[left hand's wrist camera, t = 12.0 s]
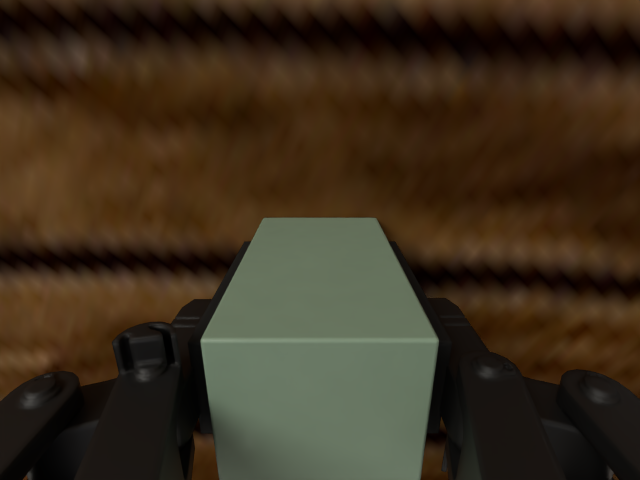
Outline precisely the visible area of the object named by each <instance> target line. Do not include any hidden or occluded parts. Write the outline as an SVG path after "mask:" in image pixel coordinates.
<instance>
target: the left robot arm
mask: <svg viewBox="0 0 640 480" xmlns="http://www.w3.org/2000/svg"><path fill="white" fill-rule="evenodd" d="M250 243H251V242H244V244H243V245H242V247H241V249H240V251H239V252H238V254H237V256H236V258H235V259H234V261H233V263H232V265H231V267H230V268H229V270H228V272H227V274H226V275H225V277H224V279H223V281H222V282H221V284H220V286H219V288H218V290H217V291H216V293H215V295H214V297H213V298H212V299H194V300H193V301H191V302H190V303H188V304H187V305H185V306H184V307H182V309H181V310H180V311H179V313H178V314H177V316H176V317H175V319H174V320H173V322H172V323H171V324H169V323H165V322H148V323H143V324H139V325H136V326H134V327H131V328H129V329H127V330H125V331H124V332H122V333H121V334H119V335H118V336H117V337H116V338H115V339H114V340H113V342H112V345H113V349H114V353H115V358H116V362H117V366H118V370H119V375H118V377H117V378H115V379H112V380H108V381H104V382H99V383H95V384H90V385H85V386H81V385H80V382H79V378H78V377H77V376H76V375H75V374H74V373H72V372H66V371H59V372H50V373H47V374H44V375H40V376H37V377H35V378H33V379H31V380H29V381H27V382H25V383H23V384H21V385H20V386H19V387H17V388H16V389H14V390H13V391H12V392H10V393H9V394H8V395H7V396H6V397H5V398H4V399H3V400H2V401H0V480H23V478H24V477H25V476H26V475H27V477H28V479H27V480H191V479H192V470H193V460H194V451H195V446H194V439H193V431H194V428H195V425H196V423H197V420H198V418H199V422H200V428H201V433H213V429H212V422H211V415H210V407H209V400H208V393H207V385H206V378H205V370H204V363H203V356H202V348H201V338H202V336H203V334H204V332H205V330H206V328H207V326H208V325H209V323H210V321H211V319H212V317H213V315H214V313H215V311H216V309H217V307H218V305H219V303H220V301H221V299H222V297H223V295H224V294H225V292H226V290H227V288H228V286H229V284H230V282H231V280H232V278H233V276H234V274H235V272H236V270H237V268H238V266H239V265H240V263H241V261H242V259H243V257H244V255H245V253H246V251H247V249H248V247H249V245H250ZM389 244H390V246H391V248H392V250H393V251H394V253H395V255H396V257H397V259H398V261H399V263H400V265H401V267H402V269H403V271H404V273H405V275H406V277H407V279H408V281H409V283H410V284H411V286H412V288H413V290H414V292H415V294H416V296H417V298H418V300H419V302H420V304H421V306H422V308H423V310H424V312H425V314H426V316H427V317H428V319H429V321H430V323H431V325H432V327H433V329H434V331H435V333H436V335H437V337H438V339H439V346H438V353H437V360H436V368H435V375H434V382H433V390H432V397H431V404H430V412H429V419H428V427H427V433H439V427H440V420H441V417H442V419H443V422H444V424H445V427H446V429H447V432H448V433H447V439H446V445H445V451H444V457H443V463H442V471H445V472H446V470H447V469H448V478H449V480H614V479H613V477H612V476H613V474H615V475H616V476H617V477H618V479H619V480H640V399H639V398H637V397H636V396H635V395H634V394H633V393H632V392H631V391H630V390H628V389H627V388H625V387H624V386H623V385H621V384H620V383H618V382H617V381H615V380H613V379H611V378H609V377H607V376H605V375H602V374H599V373H596V372H592V371H587V370H578V369H576V370H570V371H567V372H566V373H564V374H563V375H562V377H561V381H560V384H559V385H557V384H552V383H548V382H543V381H538V380H534V379H530V378H526V377H523V376H522V374H521V372H520V371H519V369H518V368H517V367H516V365H515V364H513V363H512V362H511V361H509V360H508V359H507V358H505V357H502V356H500V355H498V354H496V353H492V352H489V350H488V349H487V348H486V346H485V345H484V343H483V342H482V340H481V339H480V338H479V336H478V335H477V333H476V332H475V330H474V329H473V328H472V326H470V323H469V322H468V320H467V319H466V318H465V316H464V315H463V313H462V312H461V310H460V309H459V307H458V306H456V305H455V304H453V303H452V302H451V301H449V300H448V299H446V298H427V297H426V295H425V294H424V292H423V290H422V288H421V286H420V285H419V283H418V281H417V279H416V278H415V276H414V274H413V272H412V271H411V269H410V267H409V265H408V263H407V262H406V260H405V258H404V256H403V255H402V253H401V251H400V249H399V248H398V246H397V244H396V242H389Z"/></svg>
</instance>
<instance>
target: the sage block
mask: <svg viewBox="0 0 640 480" xmlns="http://www.w3.org/2000/svg"><path fill="white" fill-rule="evenodd" d="M438 346H439V339H438V337H437V335H436V333H435V331H434V329H433V327H432V325H431V323H430V321H429V319H428V317H427V316H426V314H425V312H424V310H423V308H422V306H421V304H420V302H419V300H418V298H417V296H416V294H415V292H414V290H413V288H412V286H411V284H410V283H409V281H408V279H407V277H406V275H405V273H404V271H403V269H402V267H401V265H400V263H399V261H398V259H397V257H396V255H395V253H394V251H393V250H392V248H391V246H390V244H389V242H388V240H387V238H386V236H385V234H384V232H383V230H382V228H381V226H380V224H379V222H378V220H377V218H263V220H262V222H261V224H260V226H259V228H258V230H257V232H256V234H255V236H254V237H253V239H252V241H251V243H250V245H249V247H248V249H247V251H246V253H245V255H244V257H243V259H242V261H241V263H240V265H239V266H238V268H237V270H236V272H235V274H234V276H233V278H232V280H231V282H230V284H229V286H228V288H227V290H226V292H225V294H224V295H223V297H222V299H221V301H220V303H219V305H218V307H217V309H216V311H215V313H214V315H213V317H212V319H211V321H210V323H209V325H208V326H207V328H206V330H205V332H204V334H203V336H202V338H201V348H202V356H203V363H204V370H205V378H206V385H207V393H208V400H209V407H210V415H211V422H212V429H213V437H214V444H215V451H216V459H217V466H218V473H219V480H420V478H421V471H422V463H423V456H424V449H425V441H426V434H427V427H428V419H429V412H430V404H431V397H432V390H433V382H434V375H435V368H436V360H437V353H438Z"/></svg>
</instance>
